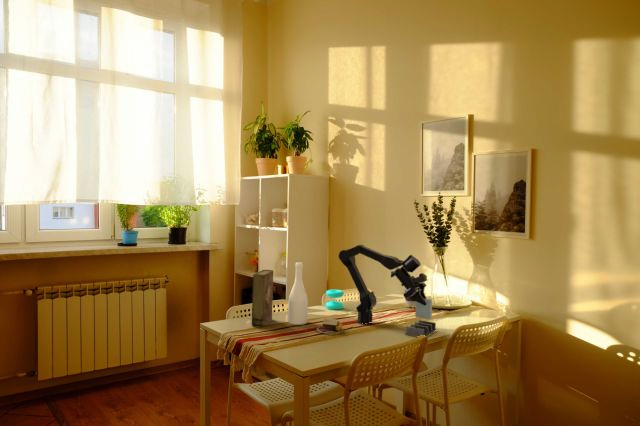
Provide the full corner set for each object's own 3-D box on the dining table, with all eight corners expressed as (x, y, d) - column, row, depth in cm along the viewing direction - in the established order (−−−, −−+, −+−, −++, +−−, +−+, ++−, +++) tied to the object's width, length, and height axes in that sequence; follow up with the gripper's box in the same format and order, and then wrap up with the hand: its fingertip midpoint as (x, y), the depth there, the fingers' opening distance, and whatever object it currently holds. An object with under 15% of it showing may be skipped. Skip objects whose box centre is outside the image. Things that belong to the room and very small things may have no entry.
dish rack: (405, 335, 236) (405, 326, 236) (418, 327, 249) (418, 319, 249) (423, 338, 231) (424, 329, 231) (436, 331, 245) (436, 322, 245)
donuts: (345, 289, 291) (341, 292, 282) (345, 307, 292) (340, 310, 282) (328, 288, 294) (324, 291, 285) (328, 305, 294) (323, 309, 285)
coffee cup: (415, 309, 290) (416, 283, 290) (400, 307, 296) (401, 281, 296) (423, 307, 298) (424, 281, 298) (408, 304, 304) (409, 279, 304)
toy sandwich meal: (312, 333, 235) (313, 323, 234) (322, 326, 247) (322, 317, 247) (338, 336, 230) (338, 326, 230) (347, 329, 243) (347, 320, 243)
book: (262, 318, 259) (263, 269, 259) (272, 319, 258) (274, 270, 257) (251, 326, 243) (253, 274, 242) (262, 327, 242) (264, 274, 241)
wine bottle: (304, 326, 247) (306, 264, 246) (285, 324, 248) (287, 263, 248) (308, 321, 256) (310, 262, 255) (290, 320, 258) (292, 261, 257)
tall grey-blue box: (415, 317, 242) (416, 298, 242) (417, 316, 245) (418, 297, 244) (429, 319, 239) (430, 300, 238) (431, 318, 241) (432, 299, 241)
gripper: (411, 270, 235) (433, 297, 230) (423, 266, 251) (444, 290, 246) (394, 285, 239) (416, 311, 234) (407, 280, 255) (427, 304, 250)
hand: (426, 304), depth 241 cm, fingers closed on tall grey-blue box, 3 cm apart
